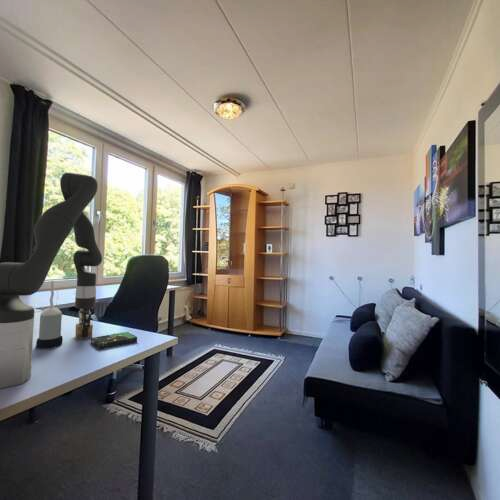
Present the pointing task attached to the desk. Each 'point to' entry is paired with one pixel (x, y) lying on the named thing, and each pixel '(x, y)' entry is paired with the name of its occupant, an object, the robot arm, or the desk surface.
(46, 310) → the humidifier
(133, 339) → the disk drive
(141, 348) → the desk surface
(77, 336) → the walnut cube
